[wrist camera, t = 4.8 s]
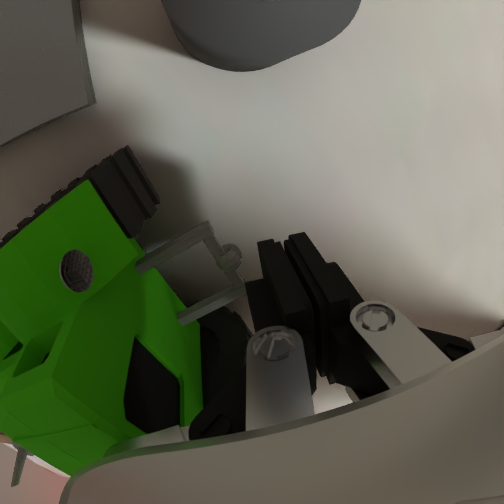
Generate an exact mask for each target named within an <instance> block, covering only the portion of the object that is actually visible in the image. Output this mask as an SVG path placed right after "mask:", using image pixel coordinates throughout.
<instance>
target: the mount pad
mask: <svg viewBox="0 0 504 504" xmlns="http://www.w3.org/2000/svg"><path fill="white" fill-rule="evenodd" d="M93 104H96V100H95V95H94V90H93V86H92V81H91V76H90V70H89V65H88V60H87V54H86V48H85V42H84V35H83V29H82V21H81V14H80V5H79V0H0V147H2V146H4V145H5V144H7V143H9V142H11V141H13V140H15V139H17V138H19V137H20V136H22V135H24V134H26V133H28V132H30V131H32V130H35V129H37V128H39V127H41V126H43V125H45V124H47V123H49V122H52V121H54V120H56V119H58V118H61V117H63V116H65V115H68V114H70V113H73V112H75V111H78V110H80V109H83V108H85V107H88V106H90V105H93Z"/></svg>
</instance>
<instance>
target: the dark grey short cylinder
mask: <svg viewBox="0 0 504 504" xmlns="http://www.w3.org/2000/svg"><path fill="white" fill-rule="evenodd" d="M161 1H162V4H163V6H164V8H165V10H166V13H167V15H168V17H169V20H170V22H171V24H172V27H173V29H174V31H175V33H176V36H177V38H178V39H179V41H180V42H181V44H182V45H183V46H184V48H185V49H186V50H187V51H188V52H189V53H190V54H192V55H193V56H194V57H195V58H197V59H198V60H200V61H202V62H204V63H206V64H208V65H210V66H213V67H215V68H219V69H223V70H227V71H235V72H246V71H255V70H260V69H264V68H267V67H270V66H272V65H275V64H277V63H279V62H282V61H284V60H286V59H289V58H291V57H293V56H296V55H298V54H301V53H303V52H306V51H308V50H311V49H313V48H316V47H318V46H321V45H323V44H324V43H326V42H328V41H330V40H332V39H333V38H334V37H336V36H337V35H338V34H340V33H341V32H342V31H343V30H344V29H345V28H346V27H347V26H348V25H349V23H350V22H351V21H352V19H353V18H354V16H355V14H356V12H357V10H358V8H359V5H360V2H361V0H161Z"/></svg>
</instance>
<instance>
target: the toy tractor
mask: <svg viewBox="0 0 504 504" xmlns="http://www.w3.org/2000/svg"><path fill="white" fill-rule="evenodd" d="M157 204H160V197H159V196H158V194H157V192H156V191H155V189H154V187H153V186H152V184H151V183H150V181H149V179H148V178H147V176H146V174H145V173H144V171H143V169H142V168H141V166H140V164H139V163H138V161H137V159H136V158H135V156H134V154H133V153H132V151H131V149H130V148H129V146H128V145H127V146H125V147H124V148H122V149H120V150H118V151H117V152H116V153H115V154H114V155H113V156H111V155H110V156H108V157H106V158H105V159H103V161H102V162H101V163H100V164H99V165H98V166H97V165H94V166H93V167H92V168H90V169H89V170H87V171H86V173H85V174H84V175H83V177H82V178H80V179H79V178H76V179H75V180H73V181H72V182H70V183H69V185H68V187H67V189H65V190H64V191H63V192H62V191H61V189H60V190H59V191H58V192H56V193H55V194H54V195H52V196H51V201H50V202H49V203H48V204H46V205H45V204H43V203H42V204H41V205H40V206H38V207H37V208H36V209H35V210H34V213H35V214H34V215H33V216H32V217H28V218H24V219H23V220H22V221H21V222H20V223H18V224H17V227H18V228H19V229H16V230H13V231H11V232H8V233H7V234H6V235H5V236H4V237H3V238H2V240H3V241H2V242H1V243H0V431H1V432H3V433H4V434H5V435H7V436H8V437H9V438H11V439H12V443H13V446H14V447H15V448H16V449H17V450H18V453H17V458H16V463H15V467H14V472H13V478H12V484H11V486H12V487H13V486H16V485H18V484H19V482H20V478H21V474H22V470H23V467H24V463H25V460H26V456H27V455H30V456H33V455H36V456H37V457H39V458H41V459H42V460H44V461H45V462H47V463H49V464H50V465H52V466H54V467H56V468H57V469H59V470H61V471H63V472H64V473H66V474H68V475H70V476H72V475H73V474H74V473H76V472H77V471H78V470H80V469H81V468H83V467H84V466H86V465H88V464H90V463H92V462H95V461H97V460H99V459H102V458H103V456H104V454H105V452H106V450H107V449H108V448H109V447H110V446H112V445H114V444H116V443H118V442H121V441H125V440H129V439H133V438H136V437H140V436H143V435H147V434H150V433H154V432H157V431H160V430H164V429H167V428H170V427H173V426H176V425H179V426H180V427H184V426H187V425H190V424H191V422H192V421H193V419H194V418H195V417H196V416H197V415H198V414H199V413H200V411H201V410H202V409H203V408H204V407H205V406H206V405H207V404H208V403H209V402H210V401H211V400H212V399H213V398H214V397H215V396H216V395H217V394H218V393H219V392H220V391H221V390H222V389H223V388H224V386H225V385H226V384H227V383H228V382H229V381H230V380H231V379H232V378H233V377H234V376H235V375H236V374H237V373H238V371H239V370H240V369H241V368H242V367H243V366H244V365H245V364H246V363H247V345H248V341H249V340H250V338H251V337H252V336H253V334H252V333H251V331H250V330H249V328H248V327H247V325H246V324H245V322H244V321H243V320H242V318H241V317H240V316H239V315H238V314H237V313H236V312H235V311H234V312H233V313H231V311H230V310H229V309H228V308H227V307H224V305H226V304H228V303H230V302H232V301H234V300H236V299H238V298H240V297H242V296H244V295H246V294H247V293H246V288H245V282H246V281H245V279H242V278H241V276H240V275H239V273H238V272H237V270H236V269H237V268H238V267H239V266H240V264H241V260H240V259H241V252H240V250H239V248H238V247H237V246H235V245H234V244H227V245H224V246H223V247H221V245H220V244H219V242H218V240H217V239H216V237H215V236H214V232H213V228H212V226H211V224H210V223H209V221H206V222H204V223H202V224H200V225H199V226H197V227H195V228H193V229H191V230H190V231H188V232H186V233H184V234H182V235H181V236H179V237H177V238H175V239H174V240H172V241H170V242H168V243H167V244H165V245H163V246H161V247H160V248H158V249H156V250H155V251H153V252H151V253H149V254H148V255H146V254H145V253H144V251H143V250H142V249H141V247H140V246H139V245H138V243H137V242H136V240H135V239H134V237H135V236H136V235H137V234H138V233H139V232H140V231H141V230H142V228H143V225H142V224H141V223H142V222H143V221H144V219H147V218H152V216H153V215H154V213H155V212H156V210H157V208H156V207H155V205H157ZM202 240H203V241H204V243H205V244H206V246H207V248H208V249H209V251H210V252H211V254H212V255H213V257H214V258H215V260H216V263H217V265H218V267H219V268H220V269H221V270H222V271H224V273H225V274H226V276H227V277H228V279H229V280H230V282H231V283H232V285H231V286H229V287H228V288H226V289H224V290H222V291H220V292H218V293H216V294H214V295H212V296H210V297H208V298H206V299H204V300H202V301H200V302H198V303H196V304H194V305H192V306H190V307H188V308H186V307H185V305H184V304H183V303H182V302H181V300H180V299H179V298H178V297H177V295H176V294H175V293H174V291H173V290H172V289H171V288H170V286H169V285H168V284H167V282H166V281H165V280H164V278H163V277H162V276H161V274H160V273H159V272H158V270H157V269H156V268H155V266H157V265H159V264H160V263H162V262H164V261H166V260H168V259H169V258H171V257H173V256H175V255H176V254H178V253H180V252H182V251H184V250H185V249H187V248H189V247H191V246H193V245H194V244H196V243H198V242H200V241H202Z"/></svg>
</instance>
